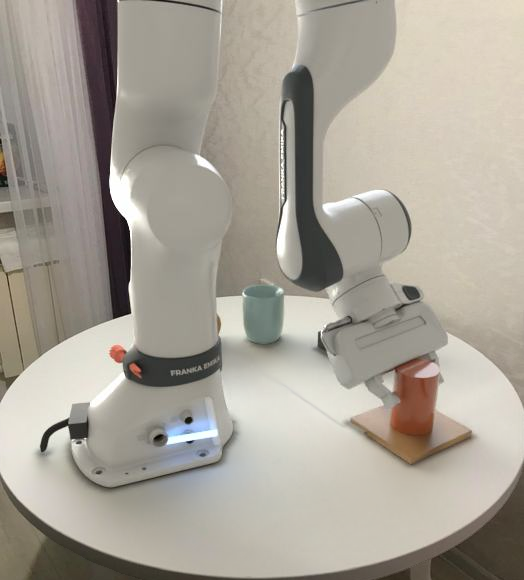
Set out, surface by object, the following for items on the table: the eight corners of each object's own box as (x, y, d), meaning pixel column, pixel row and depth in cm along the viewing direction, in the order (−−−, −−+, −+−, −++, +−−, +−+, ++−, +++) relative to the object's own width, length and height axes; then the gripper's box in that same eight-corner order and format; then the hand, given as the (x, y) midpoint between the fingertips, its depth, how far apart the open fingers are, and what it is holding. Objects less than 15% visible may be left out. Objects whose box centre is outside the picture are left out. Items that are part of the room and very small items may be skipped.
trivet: (410, 464, 77) (411, 458, 76) (349, 423, 86) (350, 418, 86) (471, 436, 83) (472, 430, 82) (408, 400, 92) (409, 395, 91)
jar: (411, 440, 80) (418, 382, 76) (380, 420, 85) (385, 365, 81) (441, 427, 83) (450, 370, 79) (410, 408, 88) (416, 354, 84)
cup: (236, 345, 111) (235, 295, 107) (253, 330, 118) (252, 282, 114) (275, 351, 109) (275, 300, 104) (289, 335, 115) (290, 287, 111)
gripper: (328, 316, 76) (380, 412, 73) (427, 284, 87) (475, 366, 84) (304, 337, 81) (351, 428, 78) (401, 304, 92) (445, 382, 90)
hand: (417, 395), depth 81 cm, fingers open, 8 cm apart
